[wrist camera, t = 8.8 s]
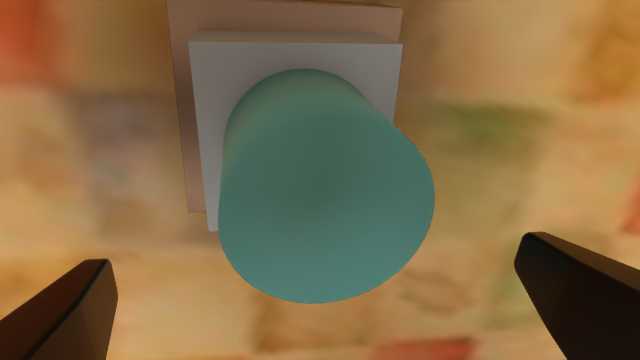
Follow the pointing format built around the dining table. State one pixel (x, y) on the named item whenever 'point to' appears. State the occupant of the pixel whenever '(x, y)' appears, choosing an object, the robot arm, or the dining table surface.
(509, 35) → the dining table surface
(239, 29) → the walnut base block
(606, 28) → the dining table surface
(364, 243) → the teal drum
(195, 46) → the slate top block
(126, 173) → the dining table surface
